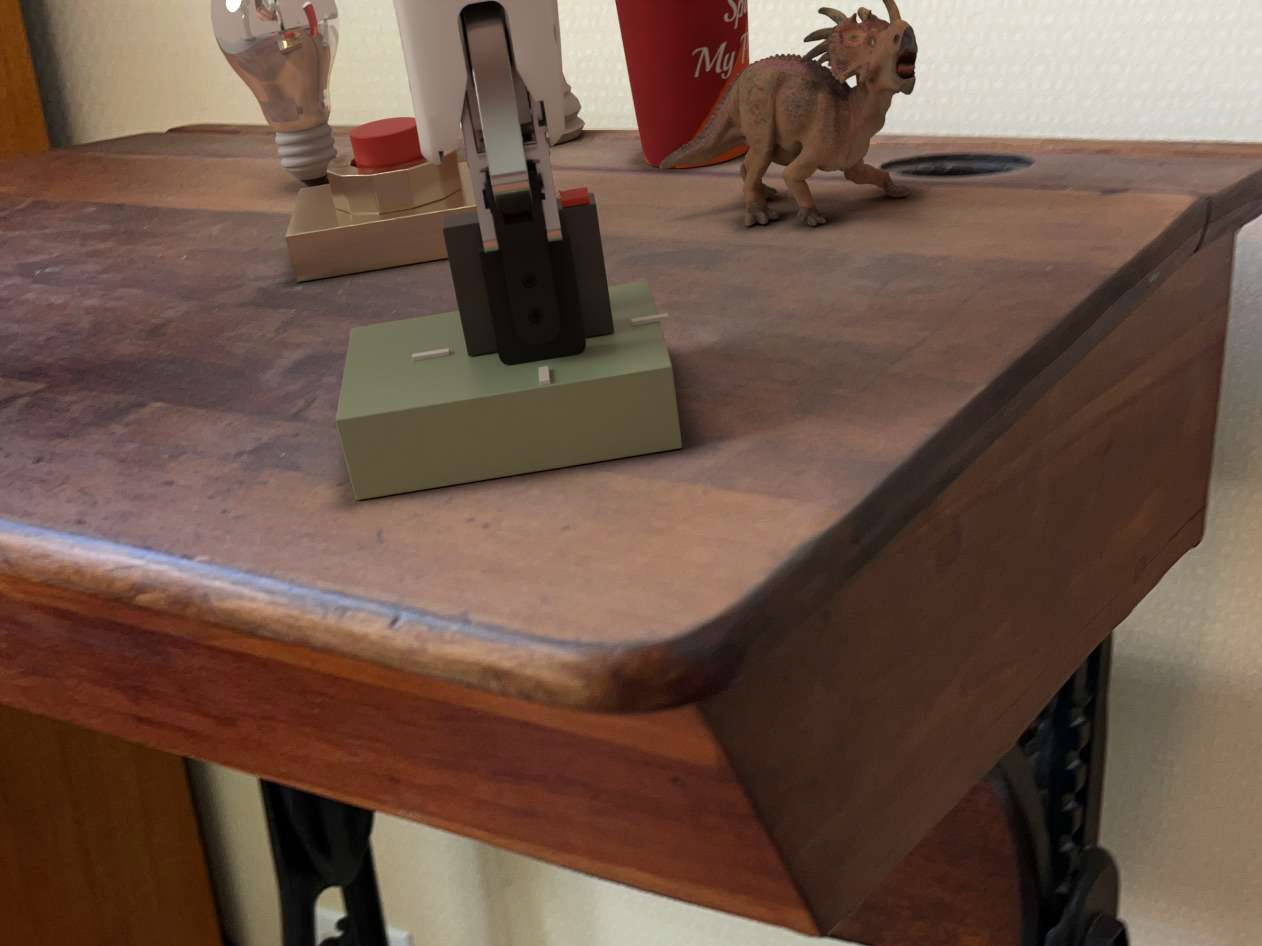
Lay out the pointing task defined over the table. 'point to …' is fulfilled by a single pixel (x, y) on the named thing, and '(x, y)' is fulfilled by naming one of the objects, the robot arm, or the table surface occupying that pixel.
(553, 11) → the robot arm
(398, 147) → the red button
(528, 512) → the table surface
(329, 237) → the button block
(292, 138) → the light bulb
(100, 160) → the table surface
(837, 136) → the dinosaur figurine
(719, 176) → the table surface
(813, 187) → the table surface
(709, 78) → the coffee cup
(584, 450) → the control panel
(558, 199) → the block
